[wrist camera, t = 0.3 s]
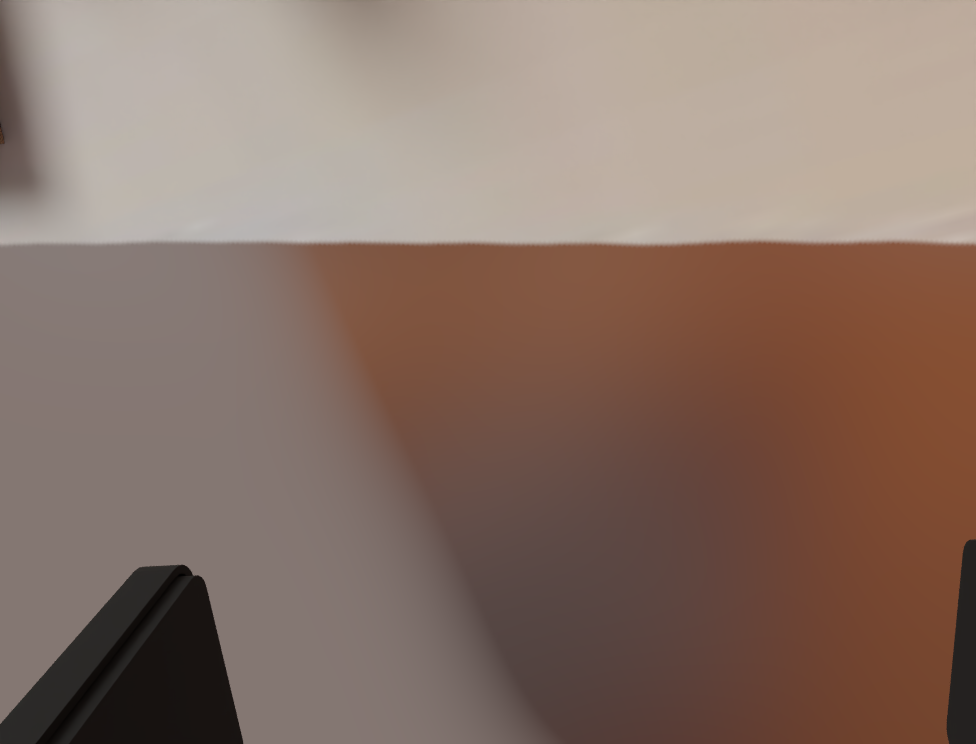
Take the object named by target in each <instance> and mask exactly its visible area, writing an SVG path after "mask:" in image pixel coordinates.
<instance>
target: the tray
mask: <svg viewBox="0 0 976 744" xmlns="http://www.w3.org/2000/svg"><path fill="white" fill-rule="evenodd" d="M0 144H4V139H3V135H2V131H1V126H0Z"/></svg>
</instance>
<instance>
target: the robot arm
mask: <svg viewBox="0 0 976 744" xmlns="http://www.w3.org/2000/svg"><path fill="white" fill-rule="evenodd" d="M947 735H948V740H949V744H976V540H969V541H967V542H966V544H965V546H964V550H963V558H962V568H961V578H960V589H959V599H958V610H957V620H956V632H955V642H954V652H953V663H952V674H951V684H950V694H949V705H948V715H947ZM0 744H243V739H242V735H241V731H240V727H239V722H238V718H237V714H236V710H235V705H234V701H233V697H232V693H231V688H230V685H229V680H228V676H227V672H226V667H225V664H224V659H223V655H222V651H221V646H220V642H219V638H218V634H217V630H216V625H215V621H214V617H213V613H212V609H211V604H210V601H209V596H208V592H207V588H206V584H205V582H204V580H203V579H202V577H200V576H198V575H197V576H193V575H192V572H191V571H190V569H189V568H188V567H187V566H185V565H170V566H150V567H140V568H138V569H137V570H136V571H134V572H133V574H132V575H131V576H130V577H129V578H128V579H127V580H126V581H125V583H124V584H123V585H122V586H121V587H120V589H119V590H118V591H117V592H116V593H115V594H114V595H113V596H112V597H111V599H110V600H109V601H108V602H107V603H106V604H105V605H104V607H103V608H102V609H101V610H100V611H99V612H98V613H97V615H96V616H95V617H94V618H93V619H92V620H91V621H90V622H89V624H88V625H87V626H86V627H85V628H84V629H83V630H82V632H81V633H80V634H79V635H78V636H77V637H76V638H75V640H74V641H73V642H72V643H71V644H70V645H69V646H68V648H67V649H66V650H65V651H64V652H63V653H62V654H61V656H60V657H59V658H58V659H57V660H56V661H55V662H54V664H53V665H52V666H51V667H50V668H49V669H48V670H47V672H46V673H45V674H44V675H43V676H42V677H41V678H40V679H39V681H38V682H37V683H36V684H35V685H34V686H33V687H32V689H31V690H30V691H29V692H28V693H27V694H26V696H25V697H24V698H23V699H22V700H21V701H20V702H19V703H18V705H17V706H16V707H15V708H14V709H13V710H12V711H11V713H10V714H9V715H8V716H7V717H6V719H4V721H3V722H2V723H1V724H0Z"/></svg>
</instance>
